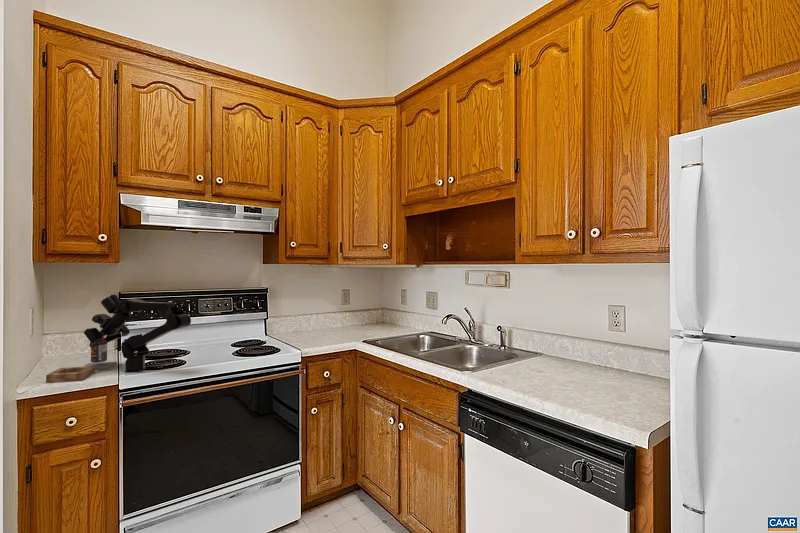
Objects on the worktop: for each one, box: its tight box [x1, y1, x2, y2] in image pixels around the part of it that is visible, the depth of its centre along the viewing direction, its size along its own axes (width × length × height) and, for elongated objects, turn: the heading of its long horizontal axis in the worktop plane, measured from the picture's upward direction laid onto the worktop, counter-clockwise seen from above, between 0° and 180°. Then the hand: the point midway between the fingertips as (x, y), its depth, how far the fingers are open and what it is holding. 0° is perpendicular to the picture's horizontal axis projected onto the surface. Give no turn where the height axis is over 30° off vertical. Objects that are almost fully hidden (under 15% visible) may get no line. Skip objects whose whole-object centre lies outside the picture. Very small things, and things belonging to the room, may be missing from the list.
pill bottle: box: [90, 336, 108, 363], centre depth 184 cm, size 6×6×11 cm
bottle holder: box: [45, 366, 96, 384], centre depth 167 cm, size 12×12×3 cm
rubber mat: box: [82, 361, 118, 371], centre depth 184 cm, size 11×11×1 cm
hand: (96, 345), depth 184 cm, fingers closed on pill bottle, 6 cm apart
